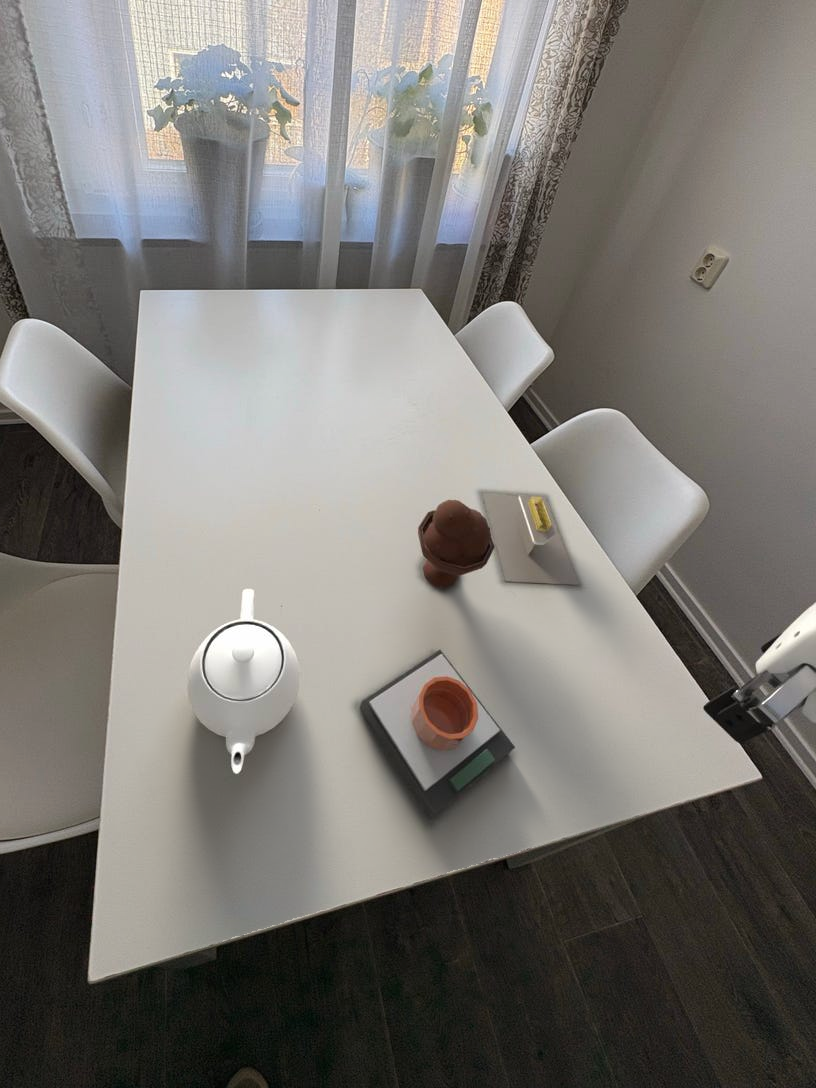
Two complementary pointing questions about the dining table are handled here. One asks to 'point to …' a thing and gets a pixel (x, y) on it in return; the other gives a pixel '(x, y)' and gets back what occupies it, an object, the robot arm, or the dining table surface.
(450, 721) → the dip bowl
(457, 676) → the scale
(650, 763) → the dining table surface
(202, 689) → the teapot
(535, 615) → the dining table surface
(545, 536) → the platform
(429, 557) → the ice cream bowl
